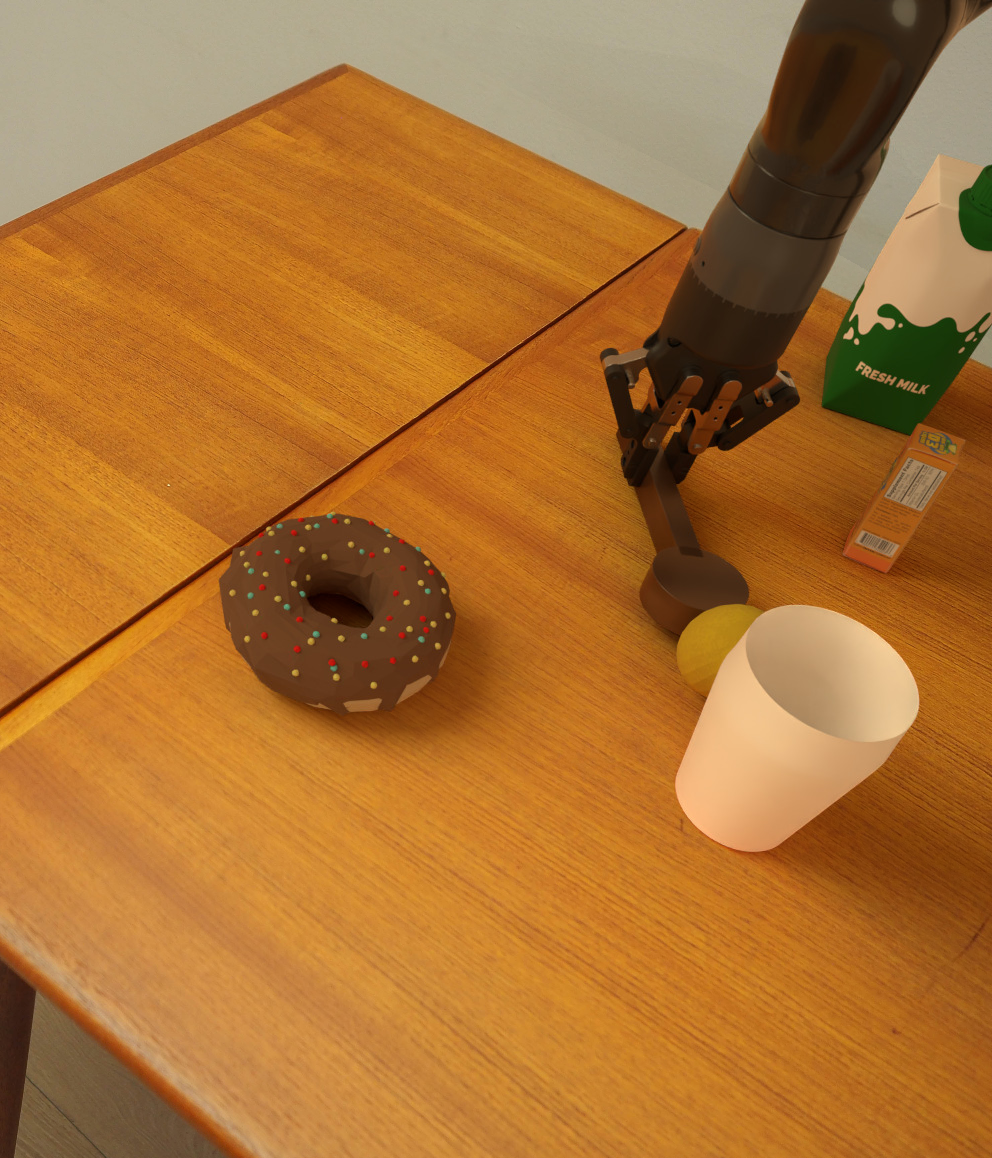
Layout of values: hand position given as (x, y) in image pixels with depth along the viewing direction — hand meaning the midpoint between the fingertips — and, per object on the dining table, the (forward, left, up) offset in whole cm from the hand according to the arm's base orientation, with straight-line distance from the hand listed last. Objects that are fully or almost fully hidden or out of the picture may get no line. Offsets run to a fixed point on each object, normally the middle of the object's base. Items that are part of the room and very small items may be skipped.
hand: (647, 479), depth 91 cm
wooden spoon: (0, +5, 0) cm, 5 cm away
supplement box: (-15, +4, -1) cm, 16 cm away
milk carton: (-21, -14, -1) cm, 26 cm away
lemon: (0, +16, -1) cm, 16 cm away
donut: (+23, +17, -1) cm, 28 cm away
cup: (0, +26, -1) cm, 26 cm away
